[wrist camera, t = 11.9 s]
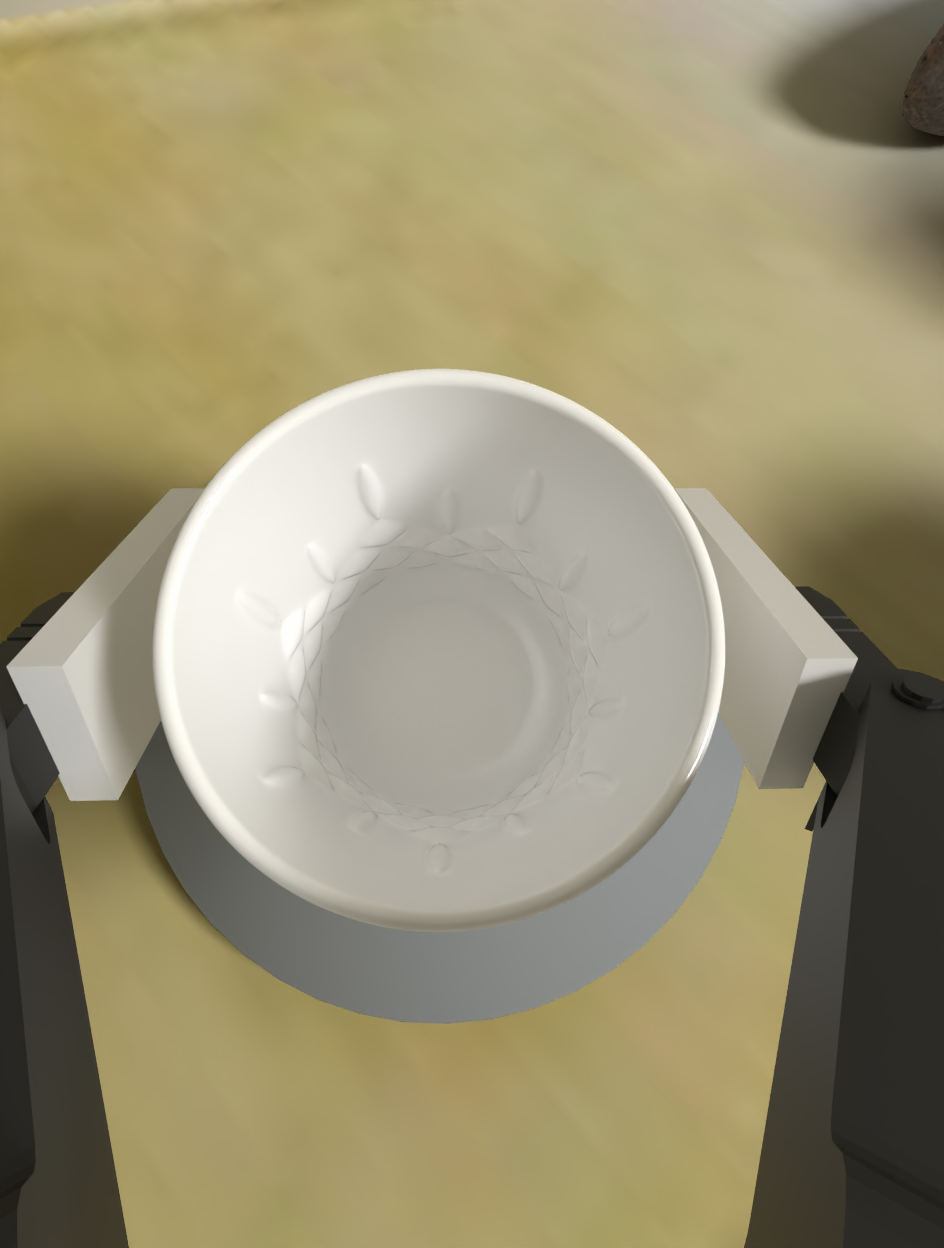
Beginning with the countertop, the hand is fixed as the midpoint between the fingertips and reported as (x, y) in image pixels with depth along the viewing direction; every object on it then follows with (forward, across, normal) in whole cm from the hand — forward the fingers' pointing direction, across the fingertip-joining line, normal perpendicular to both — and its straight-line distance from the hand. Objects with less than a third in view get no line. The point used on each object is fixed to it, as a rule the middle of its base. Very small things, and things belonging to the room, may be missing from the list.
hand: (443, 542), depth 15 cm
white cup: (+1, 0, -5) cm, 5 cm away
